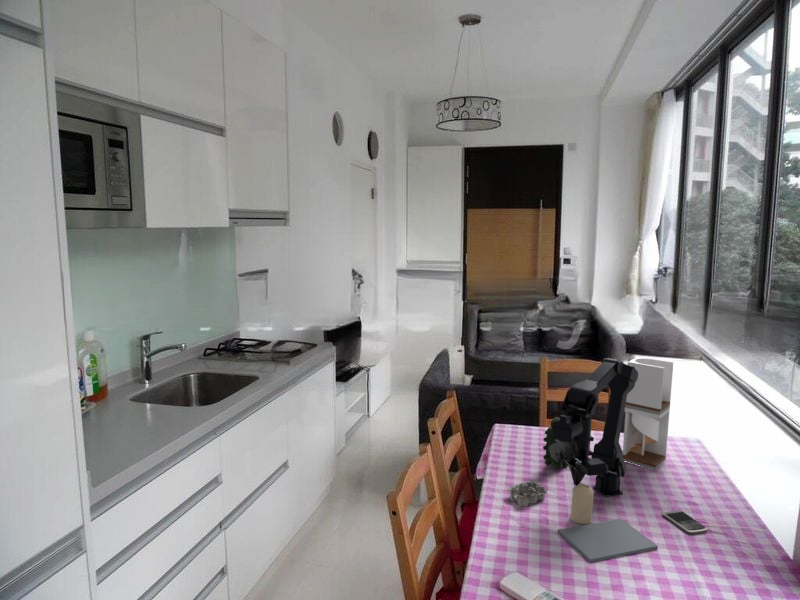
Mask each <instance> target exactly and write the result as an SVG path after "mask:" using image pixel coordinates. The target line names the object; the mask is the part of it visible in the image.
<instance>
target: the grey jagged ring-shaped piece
mask: <svg viewBox="0 0 800 600" xmlns="http://www.w3.org/2000/svg"><path fill="white" fill-rule="evenodd" d="M507 492H509V500H510V501H511V502H517V505H518V506H520V507H523V506H524V507H528V506H529V504H530V503H531V504H536V503H537V501H538V500H540V501H544V500H545V499H546V498H545V496H546V494H547V493H548V492H549V490H548V489H545V488H544V486H542V485H541V484H539V483H538V482H535V481H534V479H530V480H528V481H526V482H524V483H523V482H520V483H519V484H516V485H511V486H508V489H507ZM520 494H521V495H520Z"/></svg>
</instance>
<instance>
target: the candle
mask: <svg viewBox="0 0 800 600" xmlns="http://www.w3.org/2000/svg"><path fill="white" fill-rule="evenodd" d="M594 493H595V491H594V490H593V489H592V488H591V486H590V485H589V484H585V483H583V482H580V484H578V485H577V486H575V485H574V487H572V493H571V494H572V495H571V507H570V508H571V509H570V519H571V520H572V521H573V522H574V523H576V524H580V525H587V524H591V522H592V518H593V517H592V516H593V508H594V507H593V506H594V495H595V494H594Z"/></svg>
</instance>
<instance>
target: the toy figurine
mask: <svg viewBox="0 0 800 600" xmlns="http://www.w3.org/2000/svg"><path fill="white" fill-rule="evenodd" d="M558 420H560V416H555V417H553V418H552V419H551V421H550V427H548V428H547V429H546V430H545V431H544V434H545V437H544V438H543V442H545V445H544V446H543V447H542V449H543V450H544V451H545V454H544V455H543V459H544V464H545V465H546V466H550V465H551V464H552V465H555V467H556V468H557V469H561V468H563V467H564V468H567V467H569V465H568V464H567V463H566V462H565V461H564V462H561V463H559V462H557V461H556V460H555V459H553V458H551V455H550V451H549V448H548V447H549V446H550V445H551V443H552V442H553V441H554V440H557V439H556V437H555V436H554V434H553V432H552V426H553V424H554V423H555V422H556V421H558Z"/></svg>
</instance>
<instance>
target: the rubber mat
mask: <svg viewBox="0 0 800 600" xmlns="http://www.w3.org/2000/svg"><path fill="white" fill-rule="evenodd" d="M557 533H558V534H559V535H560V537H562V538H563V539H564V540H565V541H566V542H567V543H568V544H570V546H572V547H573V548H574V550H576V551H577V552H578V553H579V554H580V555H581V556H583V558H585V559H586V560H587V561H588V562H589V563H595V562H599V561H604V560H609V559H613V558H618V557H624V556H628V555H633V554H637V553H643V552H648V551H653V550H658V547H659V546H658V544H656V543H654V541H653V540H651V539H649V538H648V537H646V536H645V535H644V534H643V533H641V532H640V531H638V529H636V528H635V527H633V526H632V525H631V524H629V522H627V521H625V520H624V519H623V518H622V517H620V518H616V519H609V520H605V521H599V522H593V523H589V524H580V525H577V526H572V527H565V528H561V529H557Z"/></svg>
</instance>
